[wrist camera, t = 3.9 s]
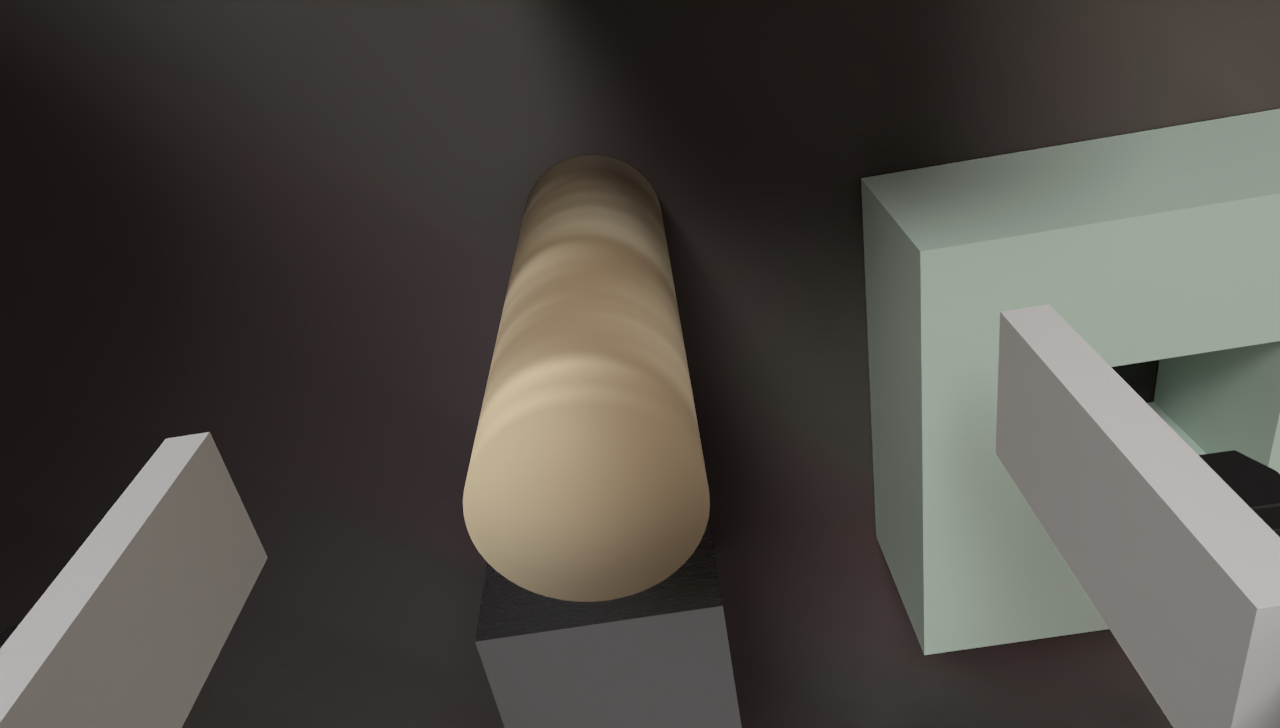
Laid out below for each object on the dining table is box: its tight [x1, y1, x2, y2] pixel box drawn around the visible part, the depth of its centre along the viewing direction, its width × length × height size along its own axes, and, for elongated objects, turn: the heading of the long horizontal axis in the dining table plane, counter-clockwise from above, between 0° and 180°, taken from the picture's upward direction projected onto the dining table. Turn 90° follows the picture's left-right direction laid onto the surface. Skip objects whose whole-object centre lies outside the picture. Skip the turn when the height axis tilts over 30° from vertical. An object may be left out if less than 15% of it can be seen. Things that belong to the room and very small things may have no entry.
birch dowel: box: [463, 155, 710, 602], centre depth 19 cm, size 4×4×12 cm
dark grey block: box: [475, 519, 742, 728], centre depth 25 cm, size 6×6×8 cm
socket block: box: [861, 109, 1280, 655], centre depth 24 cm, size 12×12×5 cm
